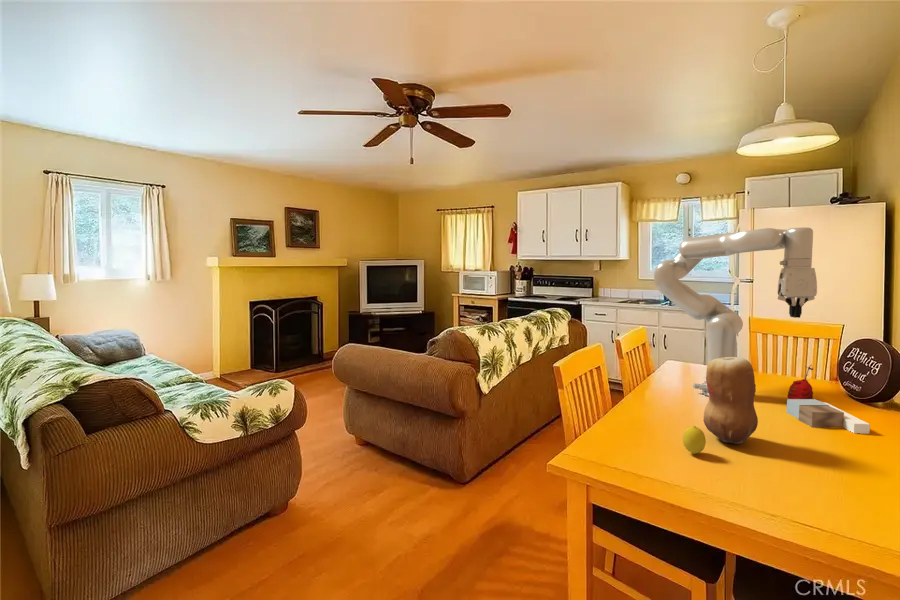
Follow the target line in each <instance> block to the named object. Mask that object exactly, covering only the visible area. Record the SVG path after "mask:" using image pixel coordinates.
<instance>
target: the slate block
mask: <svg viewBox="0 0 900 600" xmlns="http://www.w3.org/2000/svg"><path fill="white" fill-rule="evenodd" d="M823 402H824V401H821V400H817V399H815V398H813V399H788V398H787V399H786V414H787V413H788V414H787V415H789V414H790V416H791V415H792V416H791V417H793V416H794V418H795V417H796V418H795V419H797V420H799V406H829V405H828V404H829V403H828V404H825V403H826V402H825V403H823Z"/></svg>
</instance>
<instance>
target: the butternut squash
mask: <svg viewBox="0 0 900 600" xmlns="http://www.w3.org/2000/svg"><path fill="white" fill-rule="evenodd" d="M755 380H756V379H755V371H754V367H753V365H752V364H751V362H750V361H749V360H748V359H746V358H744V357H724V358H718V359H714V360H712V361H710V362H709V363H708V362H707V366H706V372H705V381H706V382H707V387H708V392H709V396H708V400H707V403H706V405H705V408H704V411H703V420H702V421H703V424H704V425H705V427H706V429H707V430H708V431H709V432H710V433H712V435H714V436H715V437H716V438H718V439H719V440H720V441H722V442H723V443H729V444H735V445H736V444H744V443H745V442H746V441H747V440H748V439H749V438H750V437H751V435H752V434H753V433H755V431H756V430H757V427H758V424H759V420H758V418H759V417H758V415H757V412H756V409H755V403H754V402H755V401H754V400H755V395H756V390H757V389H756V388H757V387H756V386H757V385H756V381H755Z"/></svg>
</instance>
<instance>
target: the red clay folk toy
mask: <svg viewBox="0 0 900 600" xmlns="http://www.w3.org/2000/svg"><path fill="white" fill-rule="evenodd" d="M804 367H805V368H806V369H807V370H806V373H805V374H804V375H805V376H804V378H802V379H799V380H793V381H792V384H791V385H790V387H789V389H788V391H787V395H786V396H787V399H814V396H813V395H814V391H813V386H812V384H811V383H809V381H808V379H807V376H809V375H808V373H809V370H811V371H814V367H812V364H810V365H809V366H806V365H804Z"/></svg>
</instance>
